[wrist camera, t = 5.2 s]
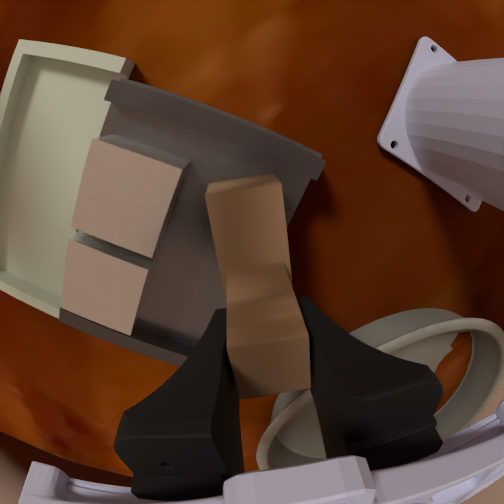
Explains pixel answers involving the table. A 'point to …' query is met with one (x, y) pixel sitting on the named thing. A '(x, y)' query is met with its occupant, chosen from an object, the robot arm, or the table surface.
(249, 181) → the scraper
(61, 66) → the tray
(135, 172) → the chip
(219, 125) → the slot plate
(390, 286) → the table surface
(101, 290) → the chip
